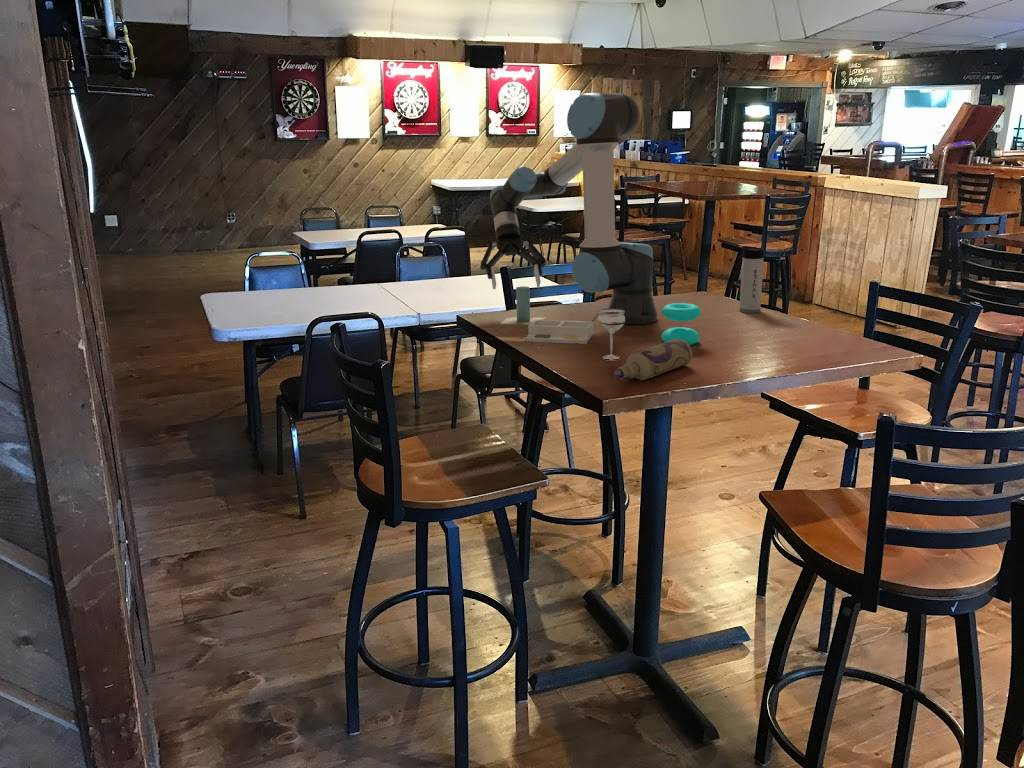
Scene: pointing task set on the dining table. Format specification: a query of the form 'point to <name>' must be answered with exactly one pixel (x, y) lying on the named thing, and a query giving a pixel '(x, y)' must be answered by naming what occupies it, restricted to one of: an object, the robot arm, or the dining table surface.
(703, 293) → the dining table surface
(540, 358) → the dining table surface
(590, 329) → the divided storage tray
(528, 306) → the green rectangular block
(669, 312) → the donuts
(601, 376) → the dining table surface
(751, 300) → the travel mug
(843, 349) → the dining table surface
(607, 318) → the wineglass
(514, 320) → the deck
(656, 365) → the decorative bottle
